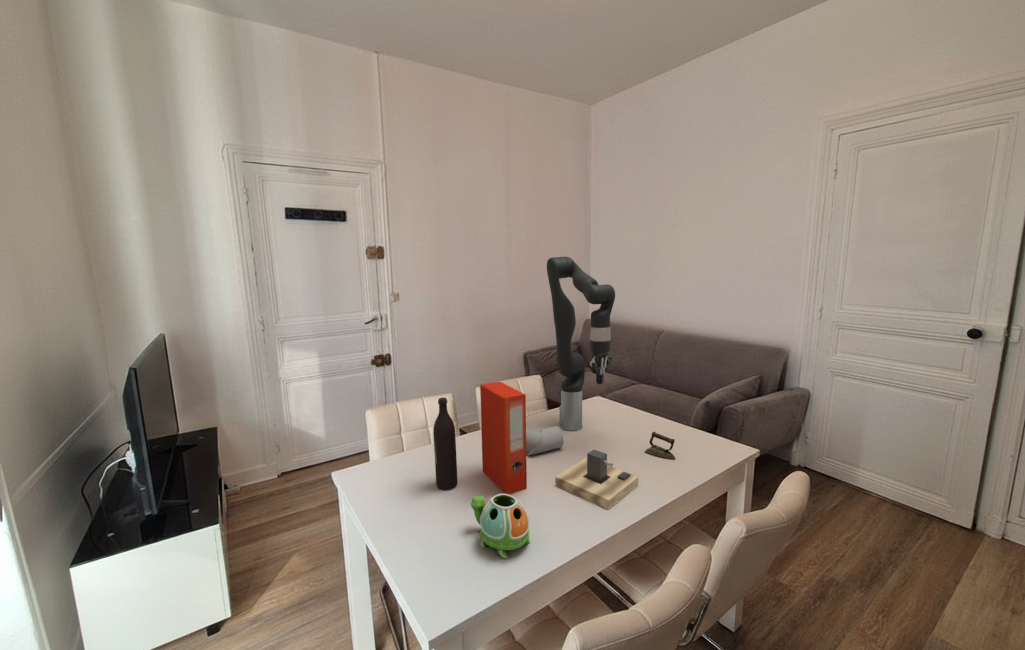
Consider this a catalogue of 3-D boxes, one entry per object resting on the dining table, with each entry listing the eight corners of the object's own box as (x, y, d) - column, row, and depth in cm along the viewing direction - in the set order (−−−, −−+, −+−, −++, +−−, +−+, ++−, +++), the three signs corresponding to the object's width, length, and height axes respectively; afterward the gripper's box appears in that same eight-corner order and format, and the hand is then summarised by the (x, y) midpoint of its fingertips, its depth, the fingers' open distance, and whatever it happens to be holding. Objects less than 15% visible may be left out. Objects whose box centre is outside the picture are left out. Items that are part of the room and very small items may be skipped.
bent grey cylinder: (520, 461, 150) (566, 449, 158) (516, 432, 151) (563, 422, 159) (501, 452, 166) (544, 442, 174) (498, 426, 167) (541, 417, 175)
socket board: (555, 485, 136) (555, 474, 135) (586, 465, 148) (586, 455, 148) (608, 509, 122) (608, 497, 121) (638, 485, 134) (638, 474, 134)
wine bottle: (449, 477, 142) (445, 393, 138) (462, 484, 137) (457, 398, 133) (432, 485, 138) (427, 399, 133) (444, 493, 132) (439, 404, 128)
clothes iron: (652, 448, 162) (659, 426, 159) (677, 464, 154) (685, 441, 151) (642, 451, 157) (650, 429, 155) (668, 468, 150) (676, 445, 147)
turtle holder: (490, 514, 121) (488, 476, 119) (539, 540, 109) (538, 498, 107) (458, 536, 111) (456, 495, 110) (508, 566, 100) (507, 521, 98)
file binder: (502, 466, 149) (500, 381, 144) (527, 488, 134) (525, 394, 129) (482, 472, 145) (479, 384, 140) (505, 495, 130) (502, 398, 126)
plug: (587, 482, 135) (587, 453, 134) (593, 477, 138) (593, 449, 136) (608, 490, 130) (609, 461, 128) (615, 485, 133) (615, 456, 131)
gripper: (601, 335, 160) (600, 378, 163) (581, 340, 151) (581, 385, 153) (618, 337, 155) (617, 381, 158) (599, 342, 146) (598, 389, 148)
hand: (599, 383), depth 155 cm, fingers closed
